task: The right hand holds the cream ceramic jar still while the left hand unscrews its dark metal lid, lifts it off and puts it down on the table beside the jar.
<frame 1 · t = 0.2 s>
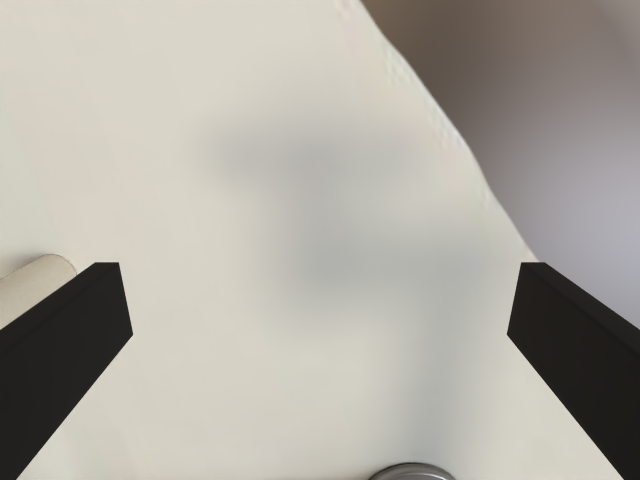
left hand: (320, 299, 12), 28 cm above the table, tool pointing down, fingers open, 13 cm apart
jar: (55, 273, 43), on the table
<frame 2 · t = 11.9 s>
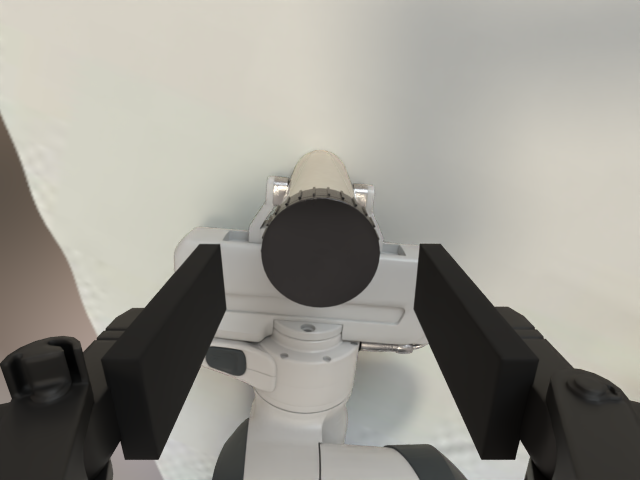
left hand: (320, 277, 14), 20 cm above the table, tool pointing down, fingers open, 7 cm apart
right hand: (320, 181, 27), fingers closed on jar, 5 cm apart
jar: (320, 177, 33), on the table, touching right hand
lid: (320, 252, 16), point 18 cm above the table, screwed on, not yet turned
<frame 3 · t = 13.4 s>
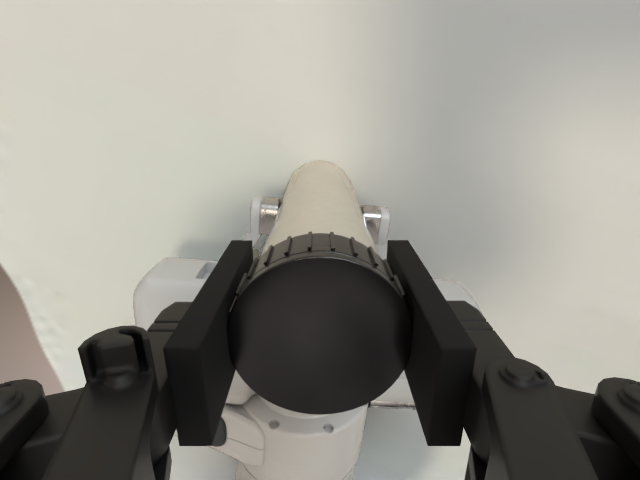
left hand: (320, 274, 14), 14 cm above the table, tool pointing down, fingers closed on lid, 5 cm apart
jar: (319, 193, 27), on the table, touching right hand
lid: (319, 335, 11), point 18 cm above the table, screwed on, not yet turned, touching left hand
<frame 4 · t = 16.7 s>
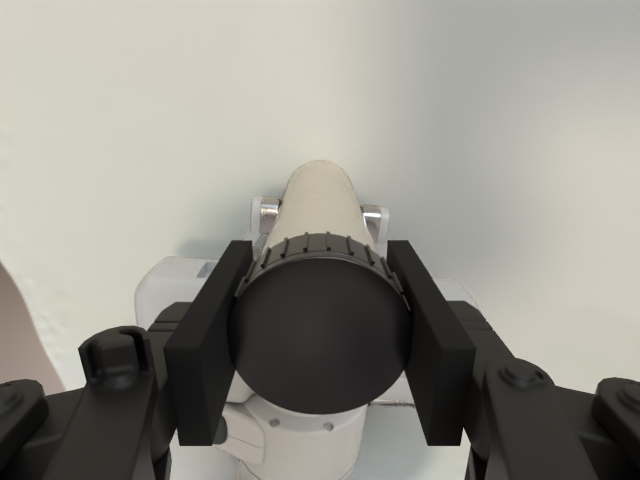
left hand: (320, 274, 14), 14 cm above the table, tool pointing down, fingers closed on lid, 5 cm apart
jar: (319, 193, 27), on the table, touching right hand
lid: (319, 335, 11), point 18 cm above the table, turned 113° so far, risen 0.1 cm, still on its thread, touching left hand
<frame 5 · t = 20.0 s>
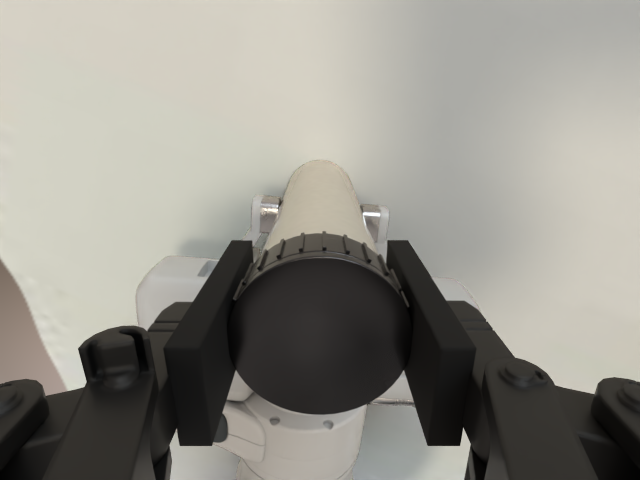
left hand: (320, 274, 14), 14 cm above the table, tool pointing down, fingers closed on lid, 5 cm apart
jar: (319, 192, 27), on the table, touching right hand
lid: (319, 335, 11), point 18 cm above the table, turned 226° so far, risen 0.3 cm, still on its thread, touching left hand
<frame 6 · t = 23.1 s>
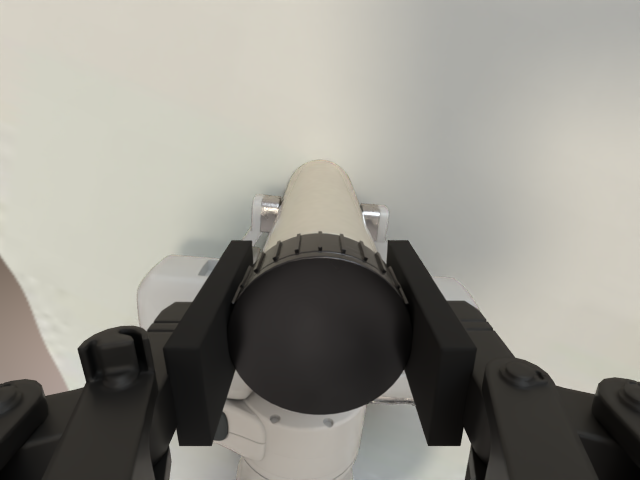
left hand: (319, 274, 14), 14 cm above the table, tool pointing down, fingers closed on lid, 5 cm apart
jar: (319, 192, 27), on the table, touching right hand
lid: (319, 335, 11), point 18 cm above the table, turned 340° so far, risen 0.4 cm, still on its thread, touching left hand
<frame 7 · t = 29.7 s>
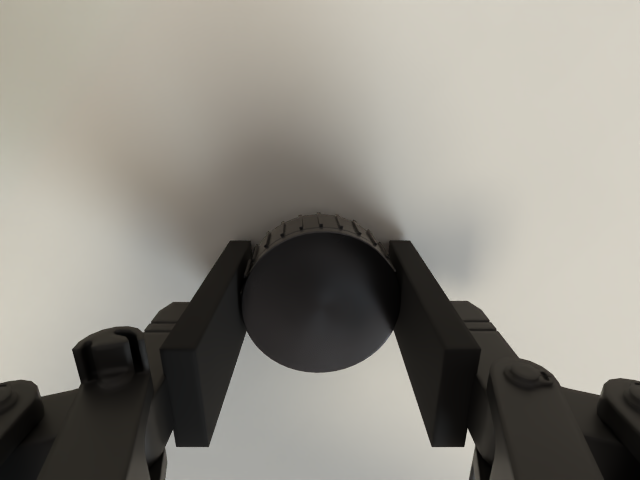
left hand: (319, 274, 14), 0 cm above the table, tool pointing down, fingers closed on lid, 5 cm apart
lid: (321, 301, 12), point 2 cm above the table, off its thread, touching left hand
when the left hand's fingers open (0 cm above the table, at t = 29.7 s): lid stays where it is, point 1 cm above the table.
when the right hand's fingers open (6 cm above the table, at t = 30.6 s): jar stays where it is, on the table.
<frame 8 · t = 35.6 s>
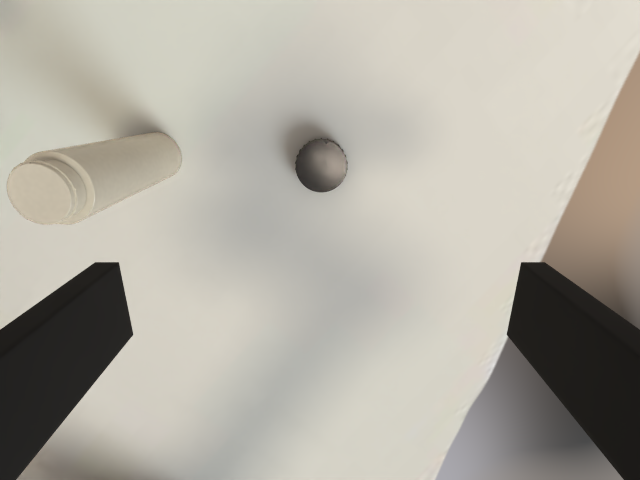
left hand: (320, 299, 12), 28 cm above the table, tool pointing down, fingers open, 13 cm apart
jar: (158, 155, 39), on the table
lid: (321, 166, 37), point 1 cm above the table, off its thread
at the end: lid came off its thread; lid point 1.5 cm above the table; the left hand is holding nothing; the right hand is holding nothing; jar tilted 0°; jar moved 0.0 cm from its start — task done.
